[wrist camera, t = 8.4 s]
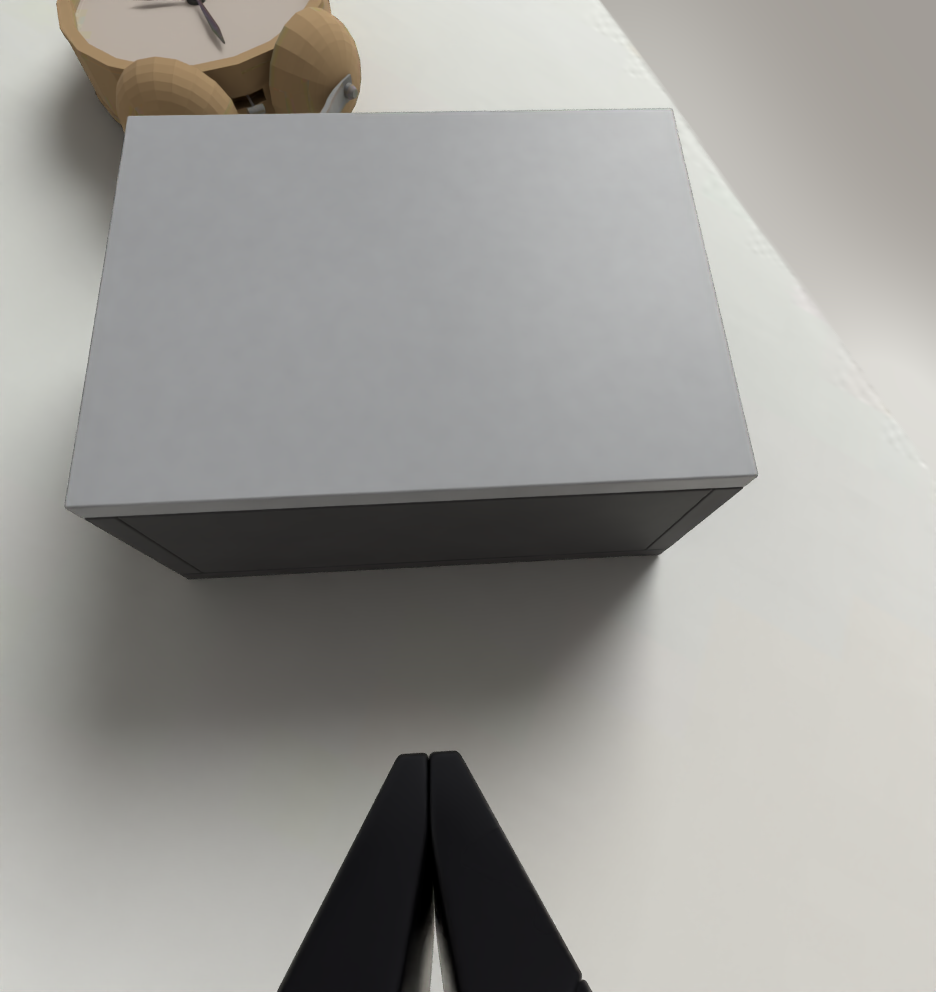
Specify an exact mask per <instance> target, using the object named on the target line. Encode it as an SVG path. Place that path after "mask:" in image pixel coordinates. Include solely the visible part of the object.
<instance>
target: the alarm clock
mask: <svg viewBox="0 0 936 992" xmlns="http://www.w3.org/2000/svg"><path fill="white" fill-rule="evenodd" d="M56 5H57V12H58V19H59V25H60V29H61V31H62V33H63V35H64V36H65V38H66V39H67V40H68V41H69V43H70V45H71V46H72V48H73V50H74V52H75V54H76V56H77V57H78V59H79V61H80V63H81V65H82V67H83V68H84V70H85V72H86V74H87V76H88V78H89V80H90V81H91V83H92V85H93V87H94V89H95V93H96V95H97V97H98V99H99V101H100V102H101V103H102V104H103V106H104V107H105V108H106V109H107V111H108V112H109V113H110V114H111V116H112V117H113V118H114V119H115V121H116V122H118V123H120V124H121V125H122V128H123V131H124V133H125V129H126V123H127V117H128V116H168V115H237V114H306V113H351V112H352V110H353V108H354V106H355V105H356V101H357V98H358V95H359V91H360V83H361V67H360V59H359V55H358V51H357V47H356V44H355V41H354V40H353V38H352V36H351V35H350V33H349V32H348V30H347V28H346V27H345V26H344V24H343V23H342V22H341V21H339V20H338V19H337V18H336V17H334V16H333V15H331V9H330V3H329V0H57V3H56Z"/></svg>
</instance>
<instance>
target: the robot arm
mask: <svg viewBox="0 0 936 992" xmlns="http://www.w3.org/2000/svg"><path fill="white" fill-rule="evenodd" d="M434 908H435V923H436V935H437V944H438V952H439V960H440V967H441V974H442V981H443V989H444V992H592V991H591V989H590V987H589V985H588V983H587V982H586V981H585V980H582V973H581V971H580V969H579V968H578V966H577V964H576V962H575V960H574V959H573V957H572V955H571V953H570V951H569V950H568V948H567V946H566V944H565V942H564V941H563V939H562V937H561V935H560V933H559V931H558V930H557V928H556V926H555V924H554V922H553V921H552V919H551V917H550V915H549V913H548V912H547V910H546V908H545V906H544V904H543V903H542V901H541V899H540V897H539V895H538V893H537V892H536V890H535V888H534V886H533V884H532V883H531V881H530V879H529V877H528V875H527V874H526V872H525V870H524V868H523V866H522V865H521V863H520V861H519V859H518V857H517V855H516V854H515V852H514V850H513V848H512V846H511V845H510V843H509V841H508V839H507V837H506V836H505V834H504V832H503V830H502V828H501V827H500V825H499V823H498V821H497V819H496V817H495V816H494V814H493V812H492V810H491V808H490V807H489V805H488V803H487V801H486V799H485V798H484V796H483V794H482V792H481V790H480V789H479V787H478V785H477V783H476V781H475V779H474V778H473V776H472V774H471V772H470V770H469V769H468V767H467V765H466V763H465V761H464V760H463V758H462V756H461V755H460V753H459V752H457V751H441V752H432V753H431V754H430V756H429V758H428V755H427V754H426V753H410V754H401V755H399V756H398V757H397V759H396V760H395V762H394V764H393V766H392V768H391V770H390V772H389V774H388V776H387V778H386V780H385V782H384V784H383V785H382V787H381V789H380V791H379V793H378V795H377V797H376V799H375V801H374V803H373V805H372V807H371V809H370V811H369V813H368V815H367V817H366V819H365V821H364V823H363V825H362V826H361V828H360V830H359V832H358V834H357V836H356V838H355V840H354V842H353V844H352V846H351V848H350V850H349V852H348V854H347V856H346V858H345V860H344V862H343V864H342V865H341V867H340V869H339V871H338V873H337V875H336V877H335V879H334V881H333V883H332V885H331V887H330V889H329V891H328V893H327V895H326V897H325V899H324V901H323V903H322V905H321V906H320V908H319V910H318V912H317V914H316V916H315V918H314V920H313V922H312V924H311V926H310V928H309V930H308V932H307V934H306V936H305V938H304V940H303V942H302V944H301V945H300V947H299V949H298V951H297V953H296V955H295V957H294V959H293V961H292V963H291V965H290V967H289V969H288V971H287V973H286V975H285V977H284V979H283V981H282V983H281V985H280V986H279V988H278V990H277V992H430V983H431V971H432V958H433V944H434Z"/></svg>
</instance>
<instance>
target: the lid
mask: <svg viewBox="0 0 936 992" xmlns="http://www.w3.org/2000/svg"><path fill="white" fill-rule="evenodd" d="M757 476H758V472H757V467H756V463H755V459H754V455H753V450H752V446H751V442H750V438H749V433H748V429H747V425H746V420H745V416H744V412H743V408H742V403H741V399H740V395H739V391H738V386H737V382H736V378H735V374H734V369H733V365H732V361H731V356H730V352H729V348H728V344H727V339H726V335H725V331H724V327H723V322H722V318H721V314H720V309H719V305H718V301H717V297H716V292H715V288H714V284H713V280H712V275H711V271H710V267H709V263H708V258H707V254H706V250H705V245H704V241H703V237H702V233H701V228H700V224H699V220H698V216H697V211H696V207H695V203H694V199H693V194H692V190H691V186H690V181H689V177H688V173H687V169H686V164H685V160H684V156H683V152H682V147H681V143H680V139H679V135H678V130H677V126H676V122H675V117H674V113H673V109H671V108H652V109H583V110H514V111H445V112H375V113H306V114H237V115H168V116H128V117H127V123H126V129H125V135H124V141H123V148H122V154H121V160H120V166H119V172H118V178H117V185H116V191H115V197H114V203H113V209H112V216H111V222H110V228H109V234H108V240H107V246H106V253H105V259H104V265H103V271H102V277H101V283H100V290H99V296H98V302H97V308H96V314H95V321H94V327H93V333H92V339H91V345H90V351H89V358H88V364H87V370H86V376H85V382H84V389H83V395H82V401H81V407H80V413H79V419H78V426H77V432H76V438H75V444H74V450H73V456H72V463H71V469H70V475H69V481H68V487H67V494H66V500H65V508H66V509H67V510H69V511H71V512H72V513H74V514H76V515H78V516H79V517H81V518H92V517H113V516H134V515H155V514H177V513H198V512H219V511H240V510H261V509H282V508H304V507H325V506H346V505H367V504H388V503H409V502H431V501H452V500H473V499H494V498H515V497H536V496H558V495H579V494H600V493H621V492H642V491H663V490H685V489H706V488H727V487H744V486H746V485H747V484H749V483H750V482H751V481H752V480H754V479H755V478H756V477H757Z"/></svg>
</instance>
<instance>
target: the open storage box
mask: <svg viewBox="0 0 936 992" xmlns="http://www.w3.org/2000/svg"><path fill="white" fill-rule="evenodd" d="M741 489H743V487H727V488H706V489H685V490H663V491H642V492H621V493H600V494H579V495H558V496H536V497H515V498H494V499H473V500H452V501H431V502H409V503H388V504H367V505H346V506H325V507H304V508H282V509H261V510H240V511H219V512H198V513H177V514H155V515H134V516H113V517H92V518H84V519H85V520H86V521H88V522H90V523H92V524H93V525H95V526H97V527H99V528H100V529H102V530H104V531H106V532H107V533H109V534H111V535H112V536H114V537H116V538H118V539H119V540H121V541H123V542H125V543H126V544H128V545H130V546H131V547H133V548H135V549H137V550H138V551H140V552H142V553H144V554H145V555H147V556H149V557H151V558H152V559H154V560H156V561H157V562H159V563H161V564H163V565H164V566H166V567H168V568H170V569H171V570H173V571H175V572H176V573H178V574H180V575H182V576H183V577H185V578H187V579H205V578H224V577H243V576H262V575H281V574H300V573H318V572H337V571H356V570H375V569H394V568H413V567H432V566H451V565H470V564H489V563H508V562H527V561H546V560H565V559H584V558H603V557H622V556H641V555H659V554H661V553H662V552H664V551H665V550H666V549H668V548H669V547H670V546H671V545H673V544H674V543H675V542H676V541H678V540H679V539H680V538H681V537H683V536H684V535H685V534H686V533H688V532H689V531H690V530H691V529H693V528H694V527H695V526H696V525H698V524H699V523H700V522H701V521H703V520H704V519H705V518H706V517H708V516H709V515H710V514H711V513H713V512H714V511H715V510H716V509H718V508H719V507H720V506H721V505H723V504H724V503H725V502H726V501H728V500H729V499H730V498H731V497H733V496H734V495H735V494H736V493H738V492H739V491H740V490H741Z"/></svg>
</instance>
